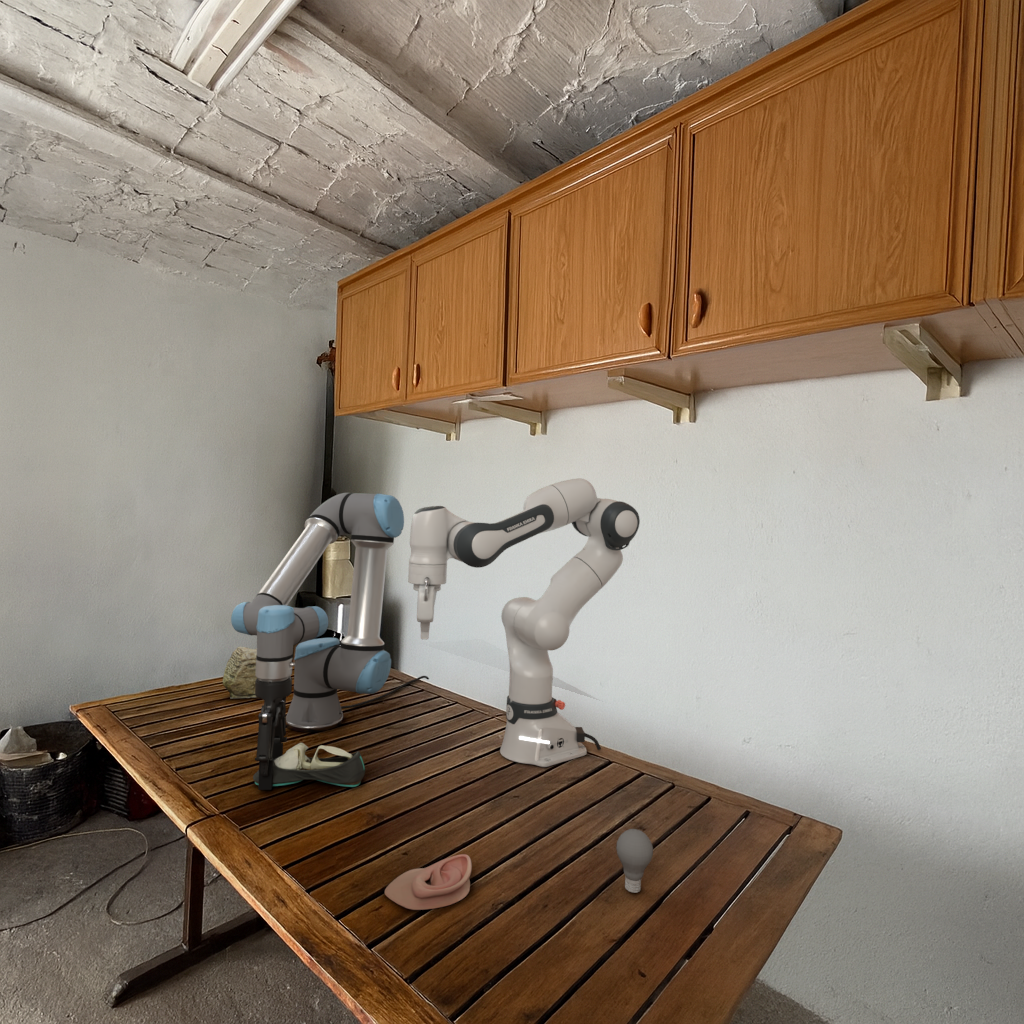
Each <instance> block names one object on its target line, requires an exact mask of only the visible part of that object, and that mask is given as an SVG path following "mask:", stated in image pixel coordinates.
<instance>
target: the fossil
mask: <svg viewBox="0 0 1024 1024" xmlns="http://www.w3.org/2000/svg"><path fill="white" fill-rule="evenodd" d="M256 655H257V648H251V647H247V646H246V647H245V646H238V647H237V648H236V649H235V650H233V651H232V653H231V656H230V657H229V659H228V660H227V663H226V666H225V668H224V671H223V675H222V676H223V677H222V685H223V687H224V688H225V690H226V691H228V693H229V698H230V699H250V698H257V697H256V695H255V681H256V679H257V677H256V676H255V674H256Z"/></svg>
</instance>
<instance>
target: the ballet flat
mask: <svg viewBox="0 0 1024 1024" xmlns="http://www.w3.org/2000/svg"><path fill="white" fill-rule="evenodd" d="M308 749H309V746H308V745H306V744H305V743H304V742H299V743H297V744H295V745H294V746H292V747H290V748H289V749H288V750H286V751H285V753H283V755H282V756H280V757H278V758H276V759H274V760H273V785H272V787H280V786H288V785H293V784H297V783H300V782H302V781H304V780H305V781H306V780H310V781H311V780H312V781H313V780H314V781H318V782H322V783H326V784H329V785H334V786H340V787H347V788H357V787H358V786H359V785H361V782H362V780H363V779H364V777H365V774H366V767H365V763H364V760H363V756H362V755H361V752H360V751H359V750H357V751H355V752H353V753H349V752H347V751H346V750H344V749H342V748H339V747H336V746H332V745H322V744H321V745H319V746H318V747H317V749H316V751H315V753H314V755H313V757H309V756H308V755H306V751H307V750H308ZM320 749H322V750H324V751H326V752H327V753H329V754H332V755H336V756H338V757H318V753H319V750H320ZM252 779H253V781H254V784H255V786H258V784H259V769H258V770H257V771H256V772H255V773H254V774H253V775H252Z"/></svg>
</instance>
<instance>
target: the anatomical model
mask: <svg viewBox="0 0 1024 1024" xmlns="http://www.w3.org/2000/svg"><path fill="white" fill-rule="evenodd" d="M472 867H473V864H472V859H471V857H470V856H469V855H468V854H466V853H465V854H464V853H463V854H455V855H453V856H450V857H449V856H448V857H447V858H444V859H441V860H439V861H437V862H435V863H432V864H431V865H429V866H427V867H424V868H423V867H422V868H420V867H419V868H412V869H409V870H407V871H405V872H403V873H402V874H400V875H398V876H397V877H395V878H394V879H393V880H392V881H391V882H389V884H388V885H387V886H386V888H385V889H384V895H385V896H386V898H388V899H389V900H391V901H392V902H394V903H395V904H397V905H399V906H401V907H403V908H405V909H408V910H410V911H421V910H422V911H424V910H432V909H438V908H443V907H448V906H450V905H454V904H455V903H459V901H462V900H463V899H464V898H465V897H467V896H468V894H469V893H470V890H471V881H470V877H471V875H472V869H473V868H472Z"/></svg>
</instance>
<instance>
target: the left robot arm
mask: <svg viewBox="0 0 1024 1024" xmlns="http://www.w3.org/2000/svg"><path fill="white" fill-rule="evenodd" d="M404 514H405V513H404V510H403V507H402V505H401V503H400V501H399V500H398V499H397V498H396V497H395V496H393V495H390V494H384V493H360V492H357V493H356V492H342V493H339V494H336V495H334V496H332V497H330V498H328V499H327V500H325V501H324V502H322V503H321V504H320V505H319V506H318V507H316V509H315V510H313V512H311V514H310V515H309V516H308V518H307V519H306V520H305V522H304V529H303V531H302V532H301V534H300V535H299V536H298V538H297V539H296V540H295V541H294V543H293V544H292V546H291V547H290V549H289V550H288V552H287V553H286V554H285V556H284V557H283V558H282V560H281V561H280V562H279V563H278V565H277V566H276V568H275V569H274V570H273V572H272V573H271V575H270V576H269V578H268V579H267V581H266V582H265V583H264V584H263V585H262V587H261V588H260V590H259V591H258V592H257V594H256V595H255V597H254V598H253V600H251V601H243V602H240V603H238V604H236V606H234V609H233V610H232V613H231V618H230V621H231V622H230V623H231V626H232V628H233V630H234V631H236V632H237V633H239V634H244V635H248V636H256V649H257V655H256V674H255V676H256V677H257V679H256V681H255V695H256V697H255V698H258V699H261V700H263V704H262V705H261V710H260V712H259V714H258V731H257V743H256V744H257V745H256V756H255V757H254V761H255V762H259V763H258V770H259V784H258V785H257V786H258V788H257V790H258V791H272V790H273V786H272V785H273V760H274V759H276V758H278V757H280V756H282V755H284V743H286V742H287V741H288V736H286V735H287V729H289V730H291V731H294V732H295V731H296V732H301V733H316V732H325V731H329V730H332V729H335V728H337V727H339V726H340V725H342V723H343V722H344V714H343V710H344V709H352V708H356V707H359V706H363V705H366V704H370V703H372V702H376V701H378V700H381V699H383V698H385V697H387V696H390V695H391V694H394V693H395V692H397V691H398V690H401V689H402V688H404V687H406V686H408V685H410V684H412V683H415V682H418V681H419V680H422V679H426V680H430V678H429V677H428V676H427V675H421V676H419V677H416V678H414V679H412V680H409V681H407V682H405V683H403V684H401V685H399V686H398V687H396V688H394V689H392V690H391V691H389V692H386V693H384V694H382V695H380V696H376V697H373V698H371V699H367V700H365V701H361V702H358V703H355V704H348V705H341V702H340V699H339V695H338V691H345V692H351V693H357V694H358V695H362V694H366V695H373V694H376V693H378V692H379V691H380V690H381V689H382V688H383V687H384V685H385V684H386V682H387V680H388V678H389V676H390V672H391V668H392V658H391V654H390V652H388V651H387V650H385V642H384V641H383V639H382V638H381V636H380V634H381V624H382V613H383V601H384V593H385V592H384V591H385V583H386V582H385V580H386V570H387V560H388V559H387V558H388V550H389V549H390V548H391V547H392V546H393V545H394V543H395V539H396V538H398V537H400V536H401V535H402V531H403V530H404V526H405V515H404ZM343 535H350V542H351V543H352V544H353V546H354V547H355V551H354V552H355V553H354V561H353V573H352V583H351V593H350V603H349V612H348V613H349V614H348V623H347V634H346V636H344V638H342V639H341V640H340V639H339V638H337V637H321V636H322V635H324V634H325V633H326V632H327V629H328V627H329V617H328V615H327V612H326V611H325V610H324V609H323V608H321V607H320V606H317V605H315V606H310V605H309V606H305V607H294V606H293V607H292V606H290V605H289V604H290V603H291V601H292V599H293V598H294V596H295V595H296V593H298V590H299V589H300V588H301V586H302V585H303V583H304V582H305V580H306V579H307V577H308V576H309V575H310V573H311V571H312V570H313V568H314V567H315V566H316V565H317V563H318V561H319V560H320V558H321V557H322V555H323V554H324V553H325V551H326V549H327V548H328V547H329V545H332V544H334V543H336V541H337V540H338V538H339V537H341V536H343ZM318 637H321V638H318ZM294 646H296V647H295V652H294ZM294 653H295V654H294ZM293 657H294V658H293ZM293 660H294V661H293ZM293 668H294V672H293ZM292 674H293V677H291V676H292ZM292 690H293V691H292ZM292 692H293V695H292V696H293V697H292V699H291V702H290V704H289V708H288V711H287V710H286V709H287V707H286V705H287V697H289V696H290V695H291V694H292ZM286 711H287V712H286Z"/></svg>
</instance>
